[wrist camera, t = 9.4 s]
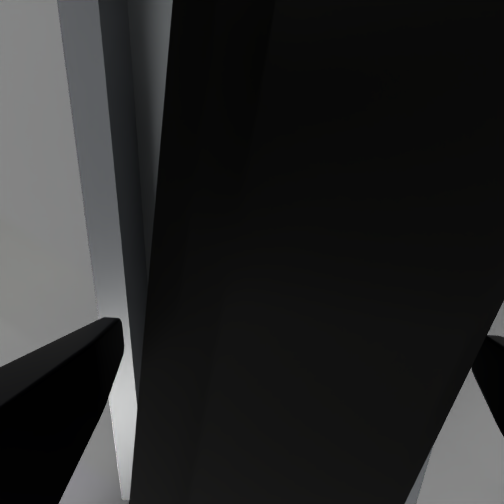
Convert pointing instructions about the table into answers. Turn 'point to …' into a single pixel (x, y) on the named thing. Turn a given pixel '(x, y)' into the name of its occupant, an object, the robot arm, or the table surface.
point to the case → (122, 172)
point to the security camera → (318, 246)
